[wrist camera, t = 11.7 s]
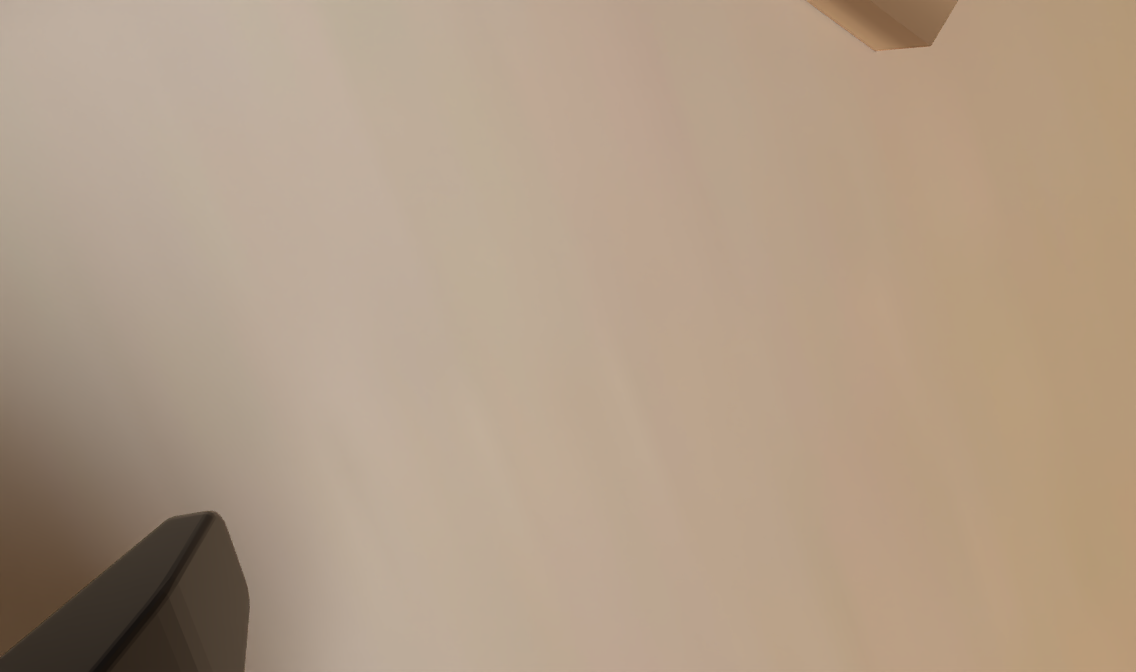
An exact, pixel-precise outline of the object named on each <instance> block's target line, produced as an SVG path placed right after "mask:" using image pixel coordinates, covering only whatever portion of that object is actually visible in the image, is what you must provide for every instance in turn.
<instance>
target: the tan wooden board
mask: <svg viewBox="0 0 1136 672" xmlns="http://www.w3.org/2000/svg"><path fill="white" fill-rule="evenodd" d="M806 1H807V2H809V3H810V4H811V5H813V6H814V7H815V8H817V9H818V10H820V11H821V12H822V13H824V14H825V15H826V16H828V17H829V18H830V19H832V20H833V21H835V22H836V23H837V24H839V25H840V26H841V27H843V28H844V29H845V30H847V31H848V32H850V33H851V34H852V35H854V36H855V37H856V38H858V39H859V40H861V41H862V42H863V43H865V44H866V45H867V46H869V47H870V48H871V49H873V50H874V51H881V50H892V49H903V48H915V47H926V46H931V45H932V43H933V42H934V40H935V38H936V37H937V35H938V33H939V32H940V30H941V28H942V27H943V25H944V23H945V22H946V20H947V18H948V17H949V15H950V13H951V12H952V10H953V8H954V6H955V5H956V3H957V1H958V0H806Z"/></svg>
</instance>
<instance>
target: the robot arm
mask: <svg viewBox="0 0 1136 672" xmlns="http://www.w3.org/2000/svg"><path fill="white" fill-rule="evenodd" d="M249 608H250V606H249V593H248V588H247V584H246V580H245V577H244V575H243V572H242V569H241V566H240V563H239V560H238V558H237V555H236V552H235V549H234V546H233V543H232V541H231V538H230V535H229V532H228V529H227V527H226V524H225V522H224V520H223V519H222V517H221V516H220V515H219V514H218V513H216V512H214V511H203V512H197V513H192V514H186V515H180V516H174V517H172V518H169V519H167V520H166V521H165V522H163V523H162V524H161V525H160V526H159V527H157V528H156V529H155V530H154V531H153V532H151V533H150V534H149V535H148V536H147V537H145V538H144V539H143V540H142V541H140V542H139V543H138V544H137V545H136V546H134V547H133V548H132V549H131V550H130V551H128V552H127V553H126V554H125V555H124V556H122V557H121V558H120V559H119V560H118V561H116V562H115V563H114V564H113V565H111V566H110V567H109V568H108V569H107V570H105V571H104V572H103V573H102V574H101V575H99V576H98V577H97V578H96V579H95V580H93V581H92V582H91V583H90V584H89V585H87V586H86V587H85V588H84V589H82V590H81V591H80V592H79V593H78V594H76V595H75V596H74V597H73V598H72V599H70V600H69V601H68V602H67V603H66V604H64V605H63V606H62V607H61V608H60V609H58V610H57V611H56V612H55V613H53V614H52V615H51V616H50V617H49V618H47V619H46V620H45V621H44V622H43V623H41V624H40V625H39V626H38V627H37V628H35V629H34V630H33V631H32V632H31V633H29V634H28V635H27V636H26V637H24V638H23V639H22V640H21V641H20V642H18V643H17V644H16V645H15V646H14V647H12V648H11V649H10V650H9V651H8V652H6V653H5V654H4V655H3V656H2V657H0V672H244V670H245V658H246V646H247V634H248V622H249Z"/></svg>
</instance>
